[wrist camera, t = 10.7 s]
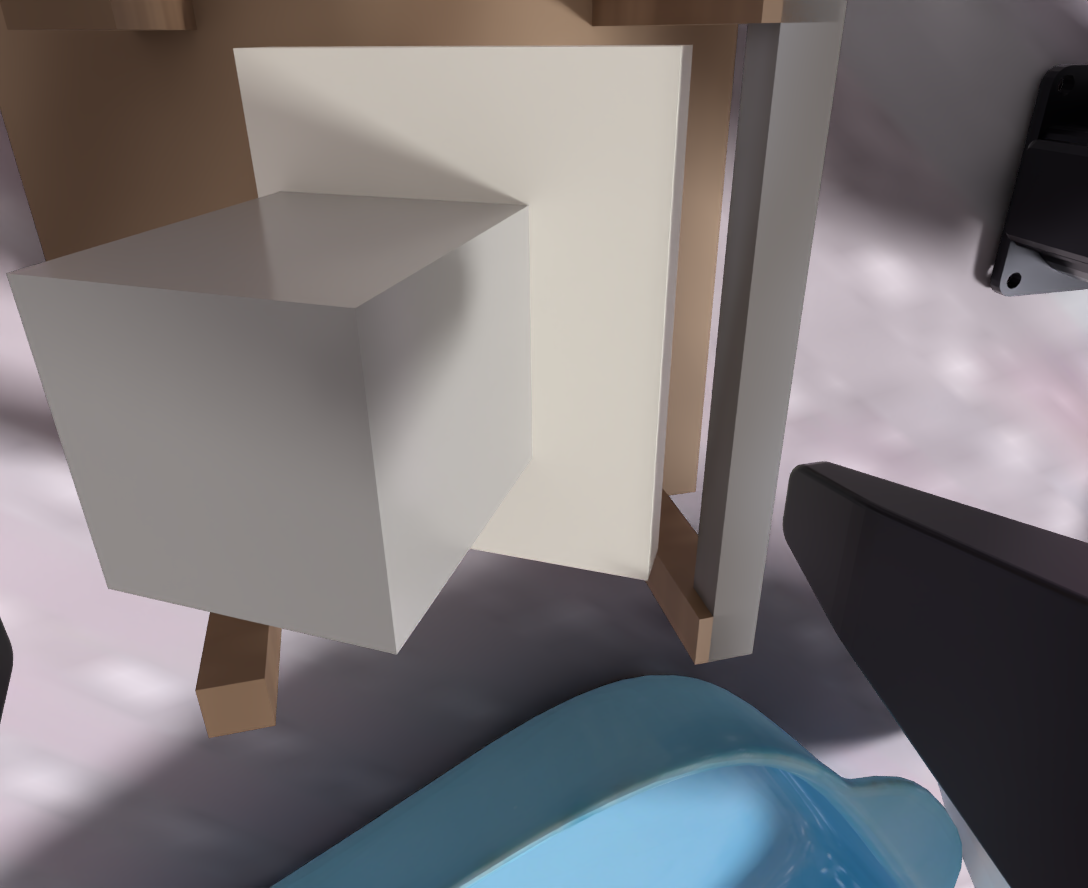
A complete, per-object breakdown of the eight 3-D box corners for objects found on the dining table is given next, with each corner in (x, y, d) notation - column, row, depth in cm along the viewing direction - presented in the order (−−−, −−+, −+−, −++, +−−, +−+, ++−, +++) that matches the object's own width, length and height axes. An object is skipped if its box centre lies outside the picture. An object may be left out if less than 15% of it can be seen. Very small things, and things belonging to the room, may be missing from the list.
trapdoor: (692, 44, 13) (681, 46, 12) (658, 549, 18) (647, 580, 17) (272, 46, 15) (232, 48, 14) (339, 495, 20) (313, 520, 19)
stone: (529, 204, 14) (355, 308, 9) (532, 457, 16) (396, 654, 11) (281, 191, 15) (6, 272, 10) (316, 425, 18) (107, 588, 12)
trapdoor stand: (728, -82, 19) (1021, -162, 11) (682, 476, 26) (841, 669, 18) (-43, -98, 15) (-419, -233, 7) (146, 550, 22) (52, 829, 14)
